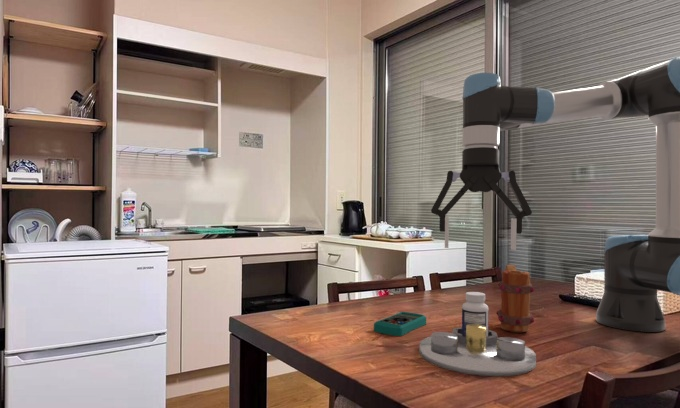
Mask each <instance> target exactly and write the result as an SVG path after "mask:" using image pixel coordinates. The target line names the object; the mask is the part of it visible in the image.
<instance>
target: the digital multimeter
mask: <svg viewBox="0 0 680 408" xmlns="http://www.w3.org/2000/svg"><path fill="white" fill-rule="evenodd" d="M425 325H427V316H426V315H424V314H421V313H414V312H408V311H407V312H406V311H400V312H397V313H395V314H394V315H393V314H392V315H391V316H388V317H385V318H382V319H379V320H377V321H375V322H374V323H373V332H376V333H378V334H383V335H389V336H396V337H403V336H404V335H406V334H409V333H410V332H412V331H415V330H416V329H419V328H422V327H424V326H425Z"/></svg>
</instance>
